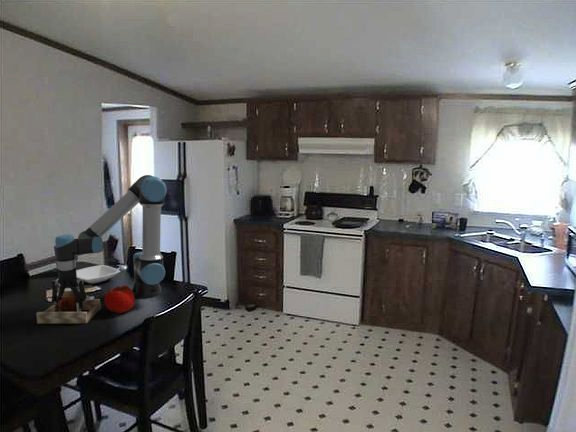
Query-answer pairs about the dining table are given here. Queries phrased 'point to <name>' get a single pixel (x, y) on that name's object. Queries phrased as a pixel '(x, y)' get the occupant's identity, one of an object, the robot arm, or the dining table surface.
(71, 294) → the mug
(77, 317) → the tan wooden shallow box
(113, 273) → the bowl
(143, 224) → the robot arm
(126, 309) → the tomato
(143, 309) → the dining table surface
